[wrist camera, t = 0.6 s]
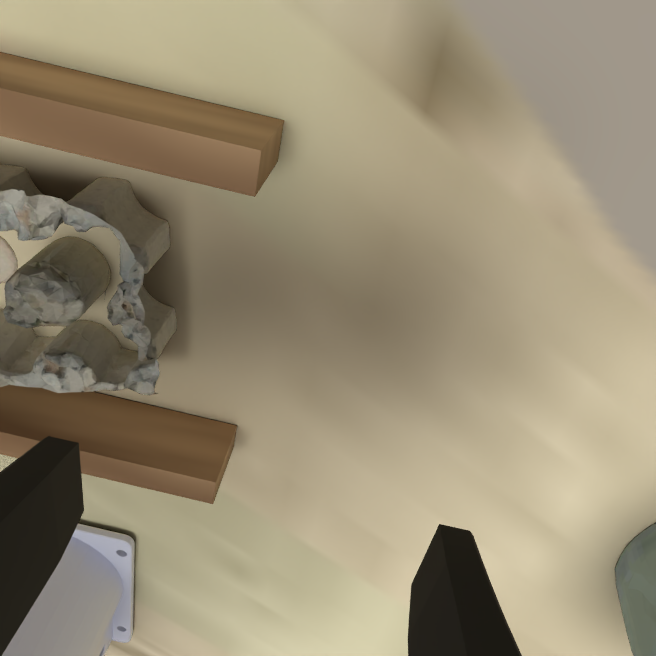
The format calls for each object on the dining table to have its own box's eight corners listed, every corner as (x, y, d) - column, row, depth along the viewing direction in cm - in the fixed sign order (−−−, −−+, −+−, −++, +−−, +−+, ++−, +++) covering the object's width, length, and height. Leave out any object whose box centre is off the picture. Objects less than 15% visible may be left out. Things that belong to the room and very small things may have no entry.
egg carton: (-82, 316, 23) (-170, 380, 19) (-141, 120, 19) (-267, 159, 15) (183, 367, 22) (141, 441, 19) (183, 179, 18) (129, 232, 15)
